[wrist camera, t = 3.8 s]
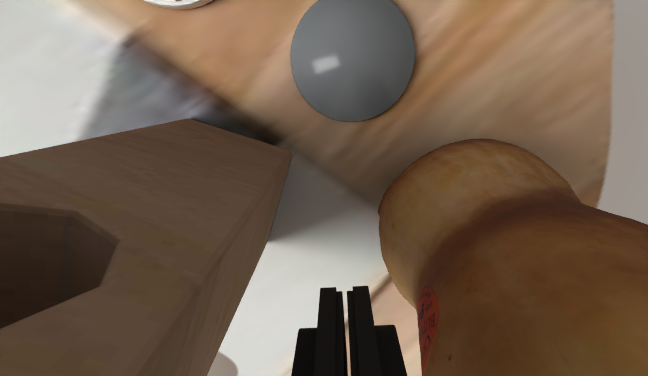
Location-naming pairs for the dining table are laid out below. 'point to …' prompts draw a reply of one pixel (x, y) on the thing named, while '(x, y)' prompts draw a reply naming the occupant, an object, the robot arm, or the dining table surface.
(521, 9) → the dining table surface
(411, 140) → the dining table surface
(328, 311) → the robot arm
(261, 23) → the dining table surface
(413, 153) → the dining table surface
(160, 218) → the decorative block
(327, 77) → the grey dome
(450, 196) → the butternut squash
